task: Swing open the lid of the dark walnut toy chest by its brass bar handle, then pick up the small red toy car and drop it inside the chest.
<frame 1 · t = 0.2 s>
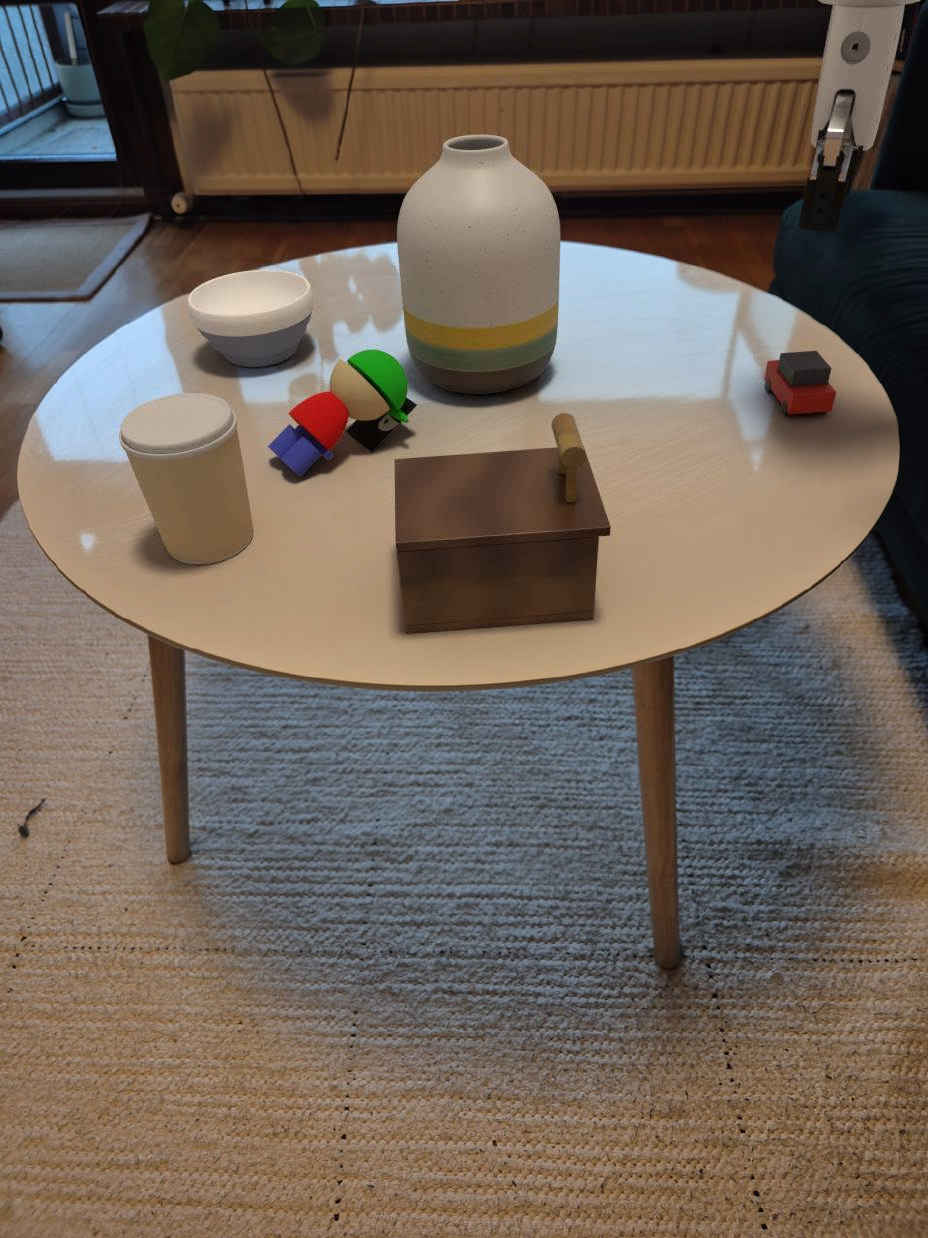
hand: (824, 212, 79), 20 cm above the table, tool pointing down, fingers open, 9 cm apart
toy: (346, 450, 91), on the table
vase: (482, 375, 102), on the table
car: (795, 401, 94), on the table
chest: (493, 580, 73), on the table
lid: (495, 467, 66), point 11 cm above the table, hinge at 0.0°
coffee cup: (210, 540, 79), on the table
bowl: (262, 354, 109), on the table
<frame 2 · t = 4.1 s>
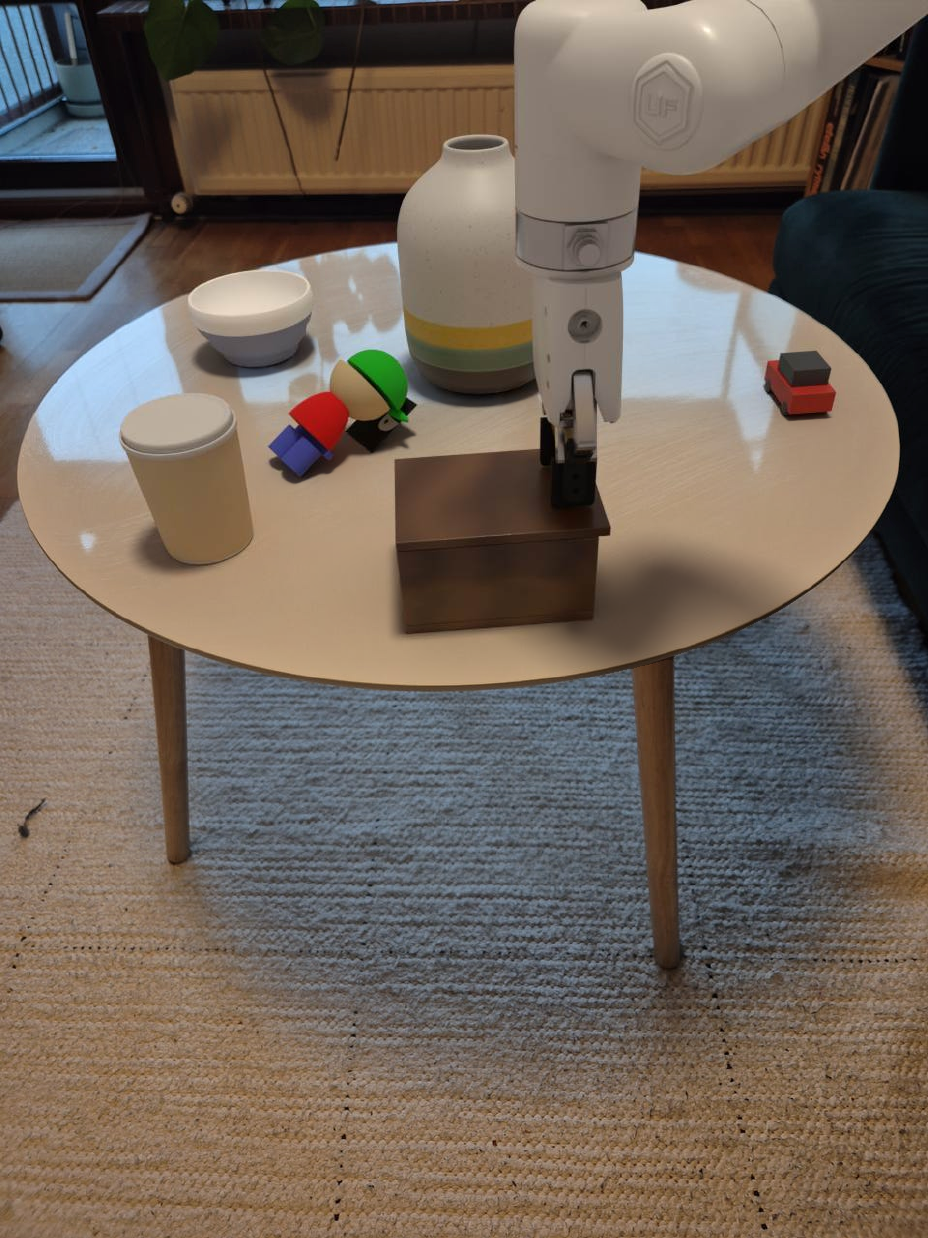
hand: (566, 481, 67), 9 cm above the table, tool pointing down, fingers closed on lid, 5 cm apart
lid: (495, 467, 66), point 11 cm above the table, hinge at 0.0°, touching gripper
everything else where it was.
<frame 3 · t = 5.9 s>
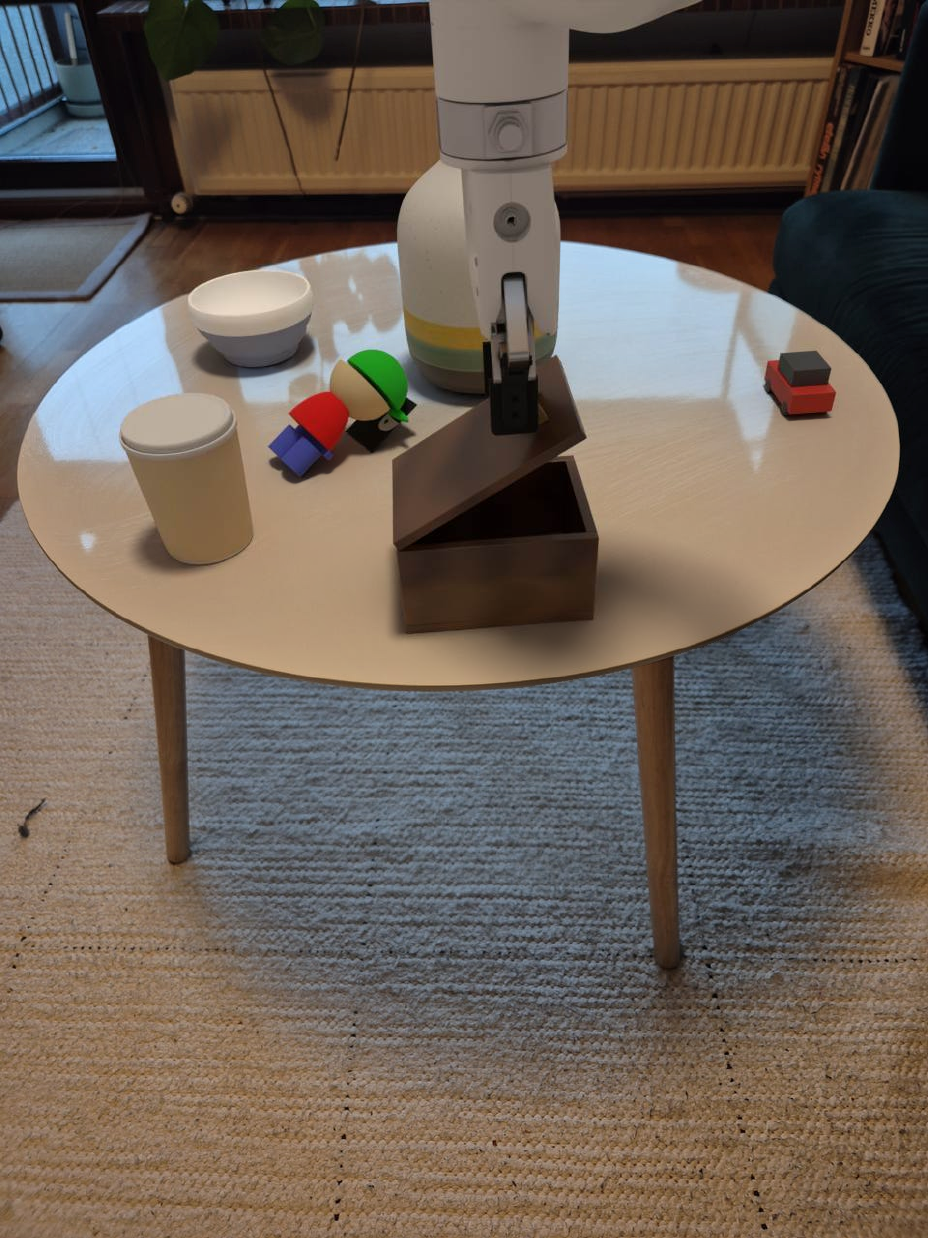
hand: (510, 409, 63), 15 cm above the table, tool pointing down, fingers closed on lid, 5 cm apart
lid: (461, 426, 64), point 14 cm above the table, hinge at 31.4°, touching gripper
everything else where it was.
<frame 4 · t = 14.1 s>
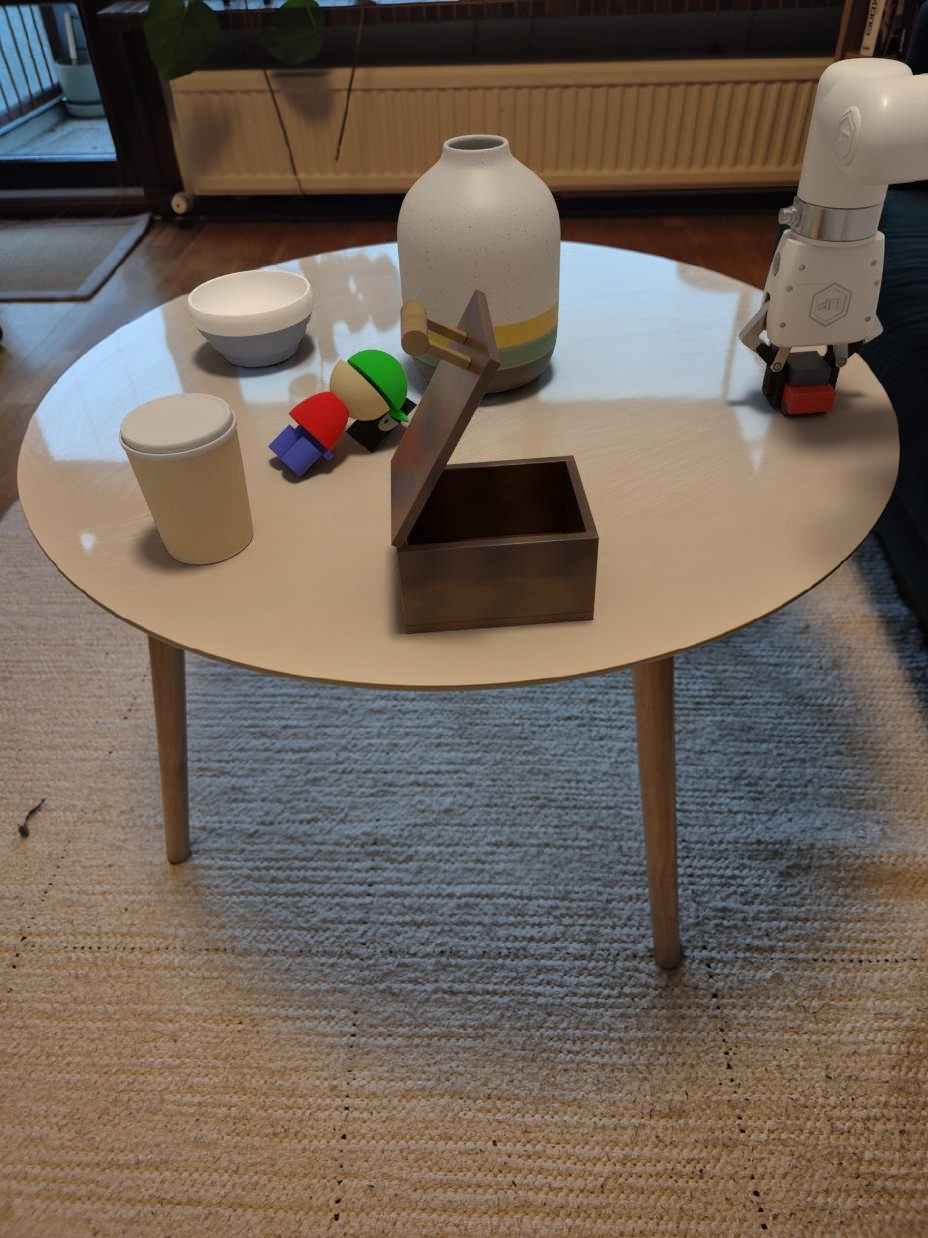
hand: (796, 398, 94), 0 cm above the table, tool pointing down, fingers closed on car, 4 cm apart
car: (795, 401, 94), on the table, touching gripper
lid: (407, 406, 62), point 16 cm above the table, hinge at 61.2°
everything else where it was.
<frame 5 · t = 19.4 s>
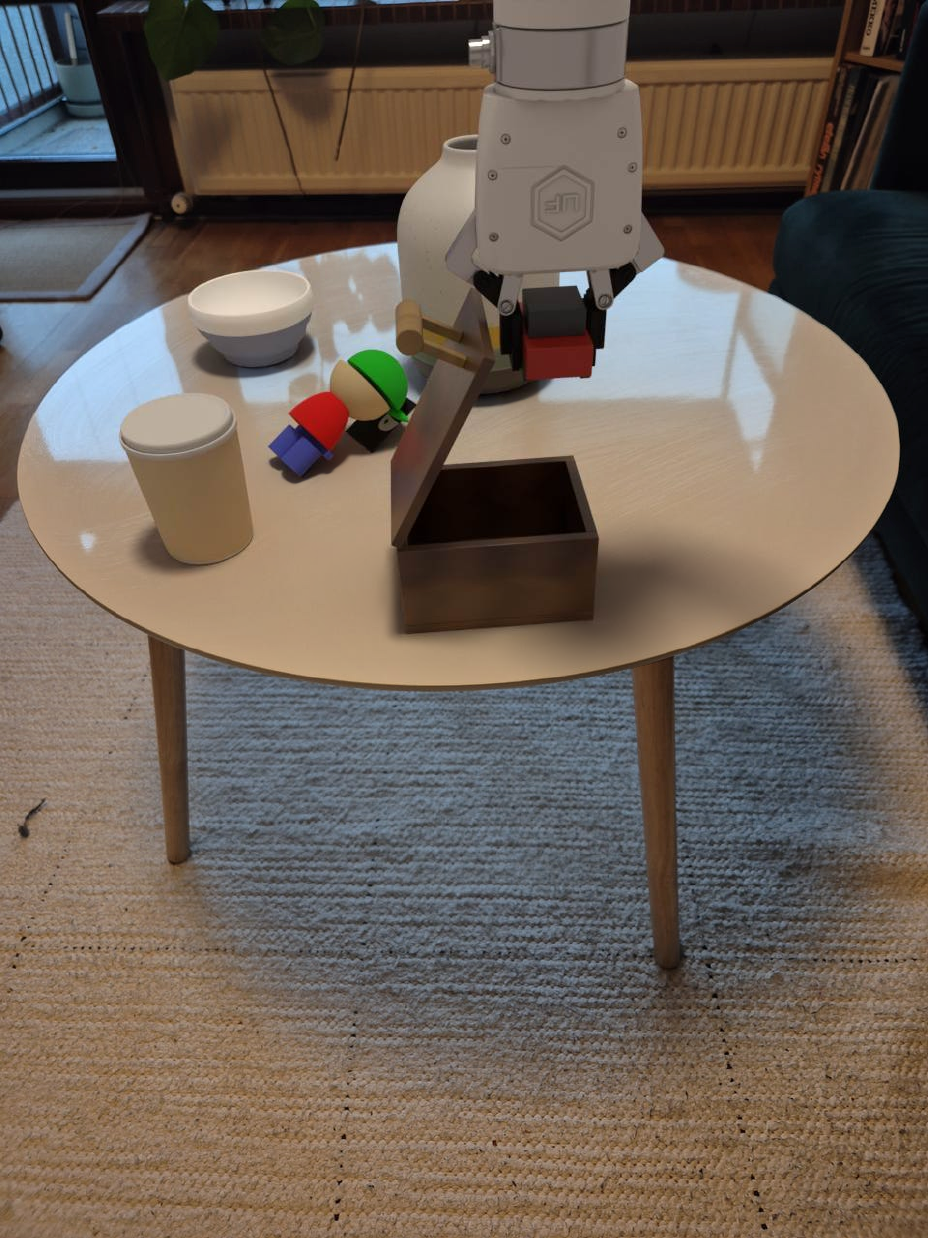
hand: (551, 357, 63), 18 cm above the table, tool pointing down, fingers closed on car, 4 cm apart
car: (551, 362, 63), point 18 cm above the table, touching gripper
lid: (404, 406, 62), point 16 cm above the table, hinge at 62.7°, touching gripper
everything else where it was.
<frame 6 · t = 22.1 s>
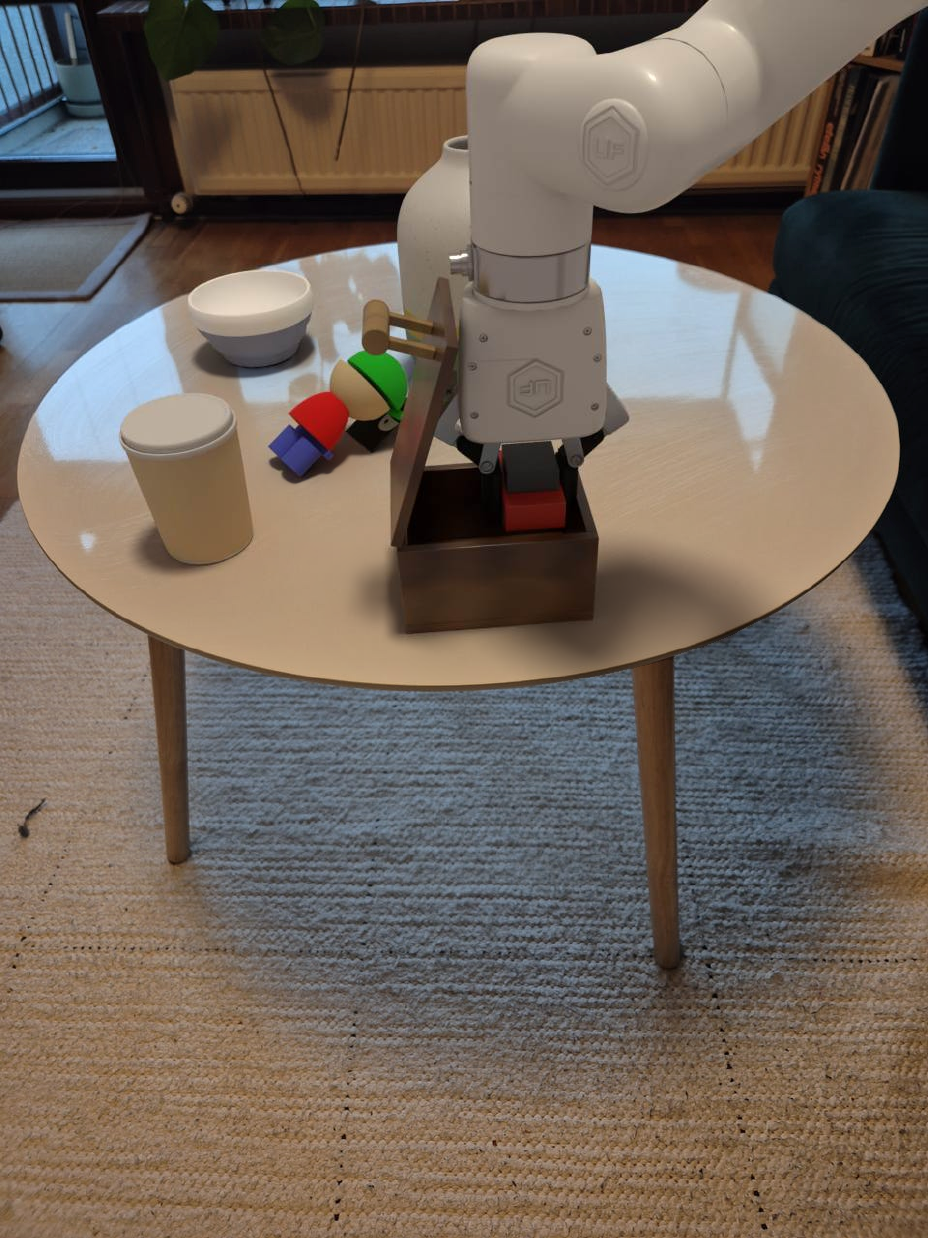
hand: (528, 503, 68), 7 cm above the table, tool pointing down, fingers closed on car, 4 cm apart
car: (528, 507, 69), point 7 cm above the table, touching gripper
lid: (386, 405, 62), point 16 cm above the table, hinge at 71.7°
everything else where it was.
when the fingers open (8 cm above the table, at t = 29.3 s): car drops 7 cm, resting on chest.
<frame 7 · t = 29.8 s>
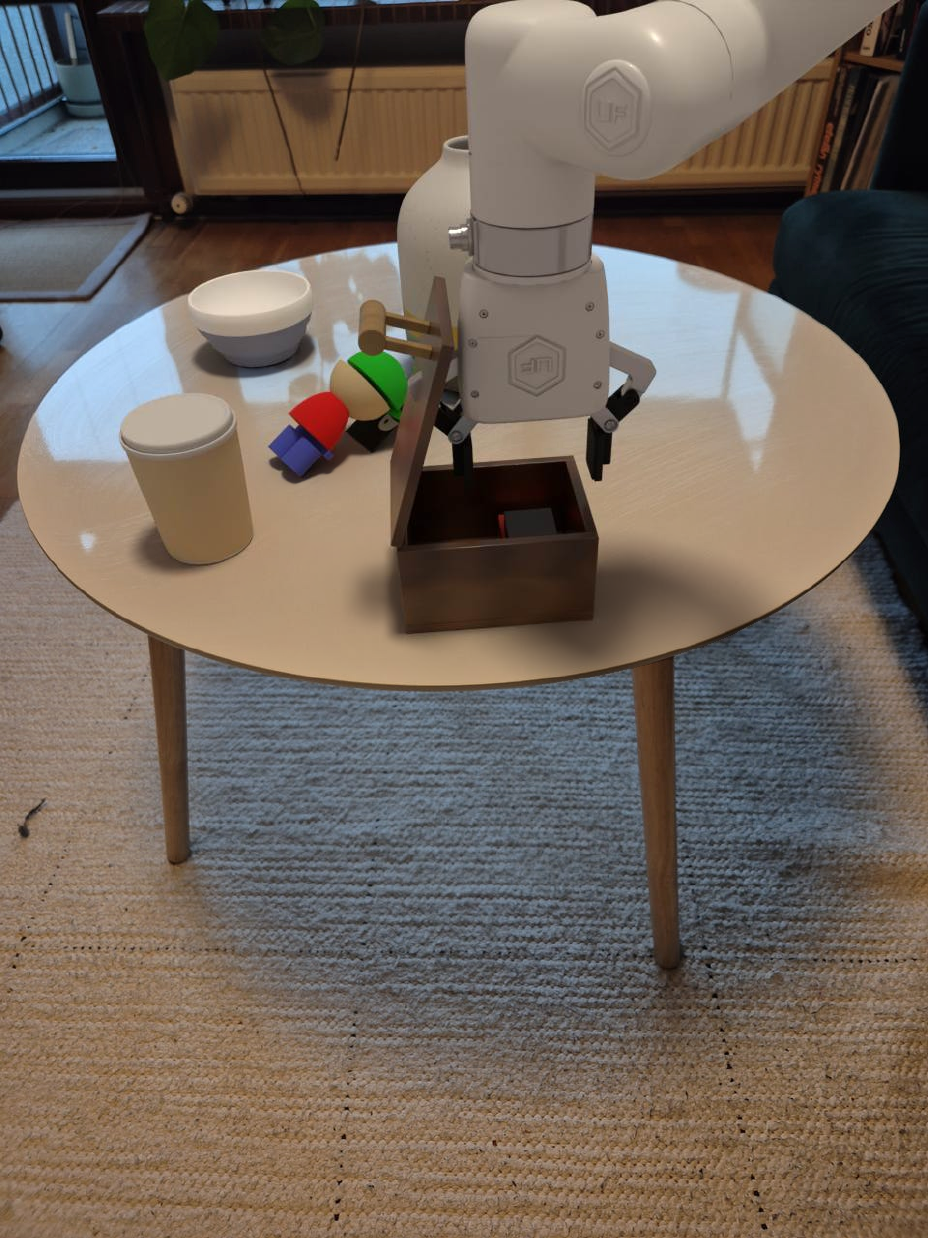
hand: (531, 476, 67), 10 cm above the table, tool pointing down, fingers open, 9 cm apart
car: (529, 569, 73), point 1 cm above the table, touching chest
lid: (384, 405, 62), point 16 cm above the table, hinge at 72.7°, touching gripper
everything else where it was.
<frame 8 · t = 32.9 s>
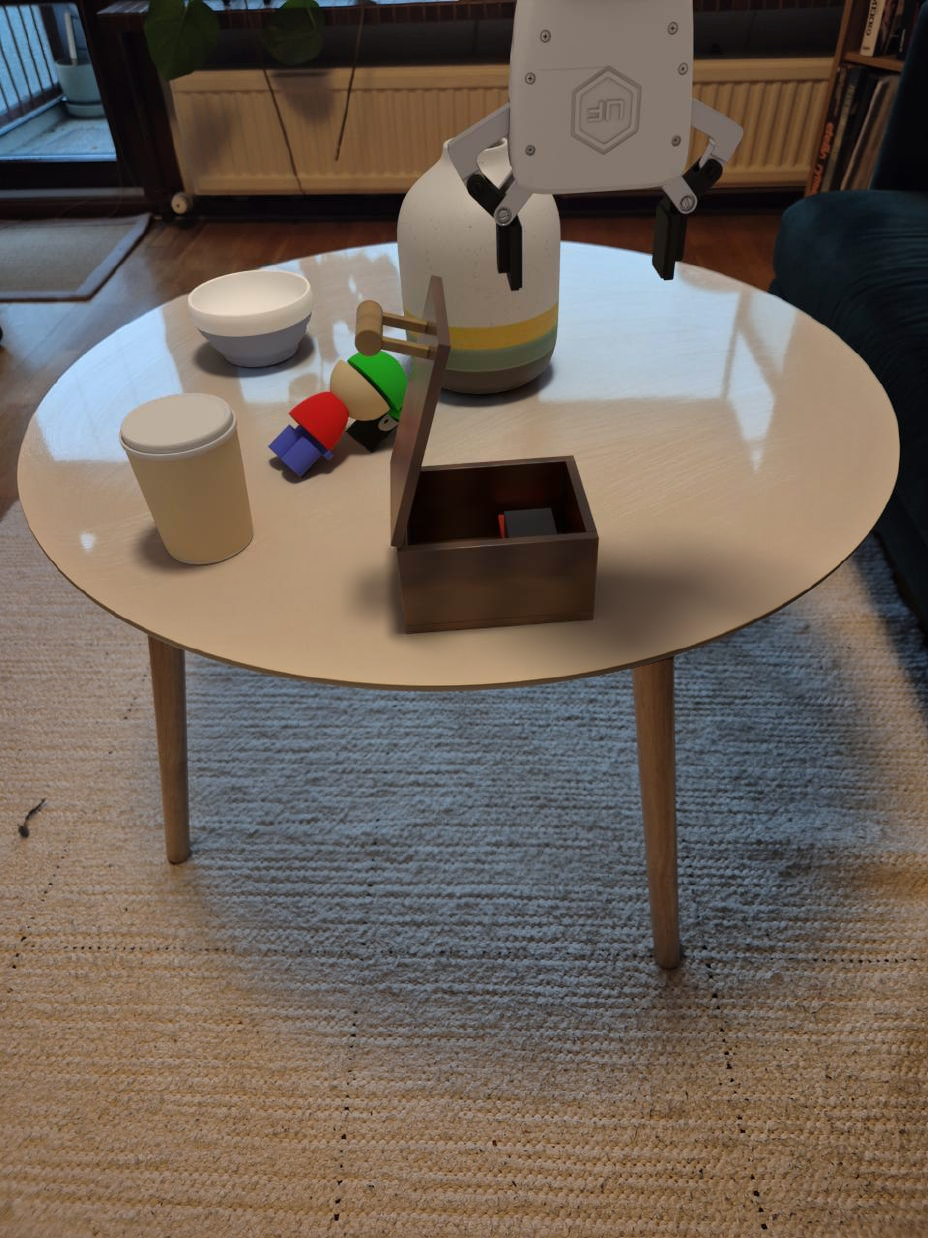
hand: (588, 277, 57), 24 cm above the table, tool pointing down, fingers open, 9 cm apart
lid: (382, 406, 62), point 16 cm above the table, hinge at 73.5°
everything else where it was.
at the end: lid at +74° (first picture: +0°); car inside the target area in the chest (3.0 cm from its centre), point 0.8 cm above the chest's base; the gripper is holding nothing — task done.
